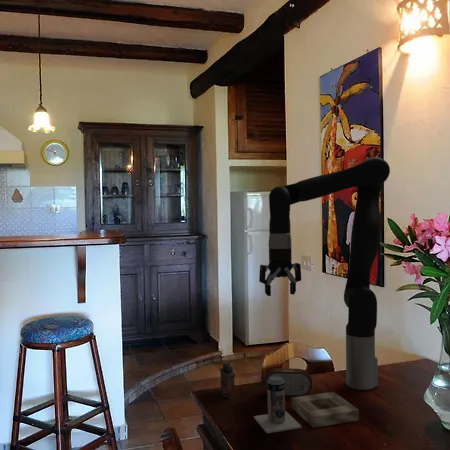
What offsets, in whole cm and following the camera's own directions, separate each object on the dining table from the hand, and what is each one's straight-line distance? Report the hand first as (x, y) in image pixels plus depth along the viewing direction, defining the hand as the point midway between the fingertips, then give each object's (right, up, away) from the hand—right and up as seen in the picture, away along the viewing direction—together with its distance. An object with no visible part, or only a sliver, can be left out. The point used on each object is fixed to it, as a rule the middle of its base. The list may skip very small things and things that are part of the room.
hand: (280, 294), depth 164 cm
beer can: (-4, -31, -28) cm, 42 cm away
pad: (-4, -31, -28) cm, 42 cm away
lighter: (-18, -31, -7) cm, 36 cm away
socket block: (+10, -31, -23) cm, 40 cm away
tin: (+1, -31, -9) cm, 32 cm away
